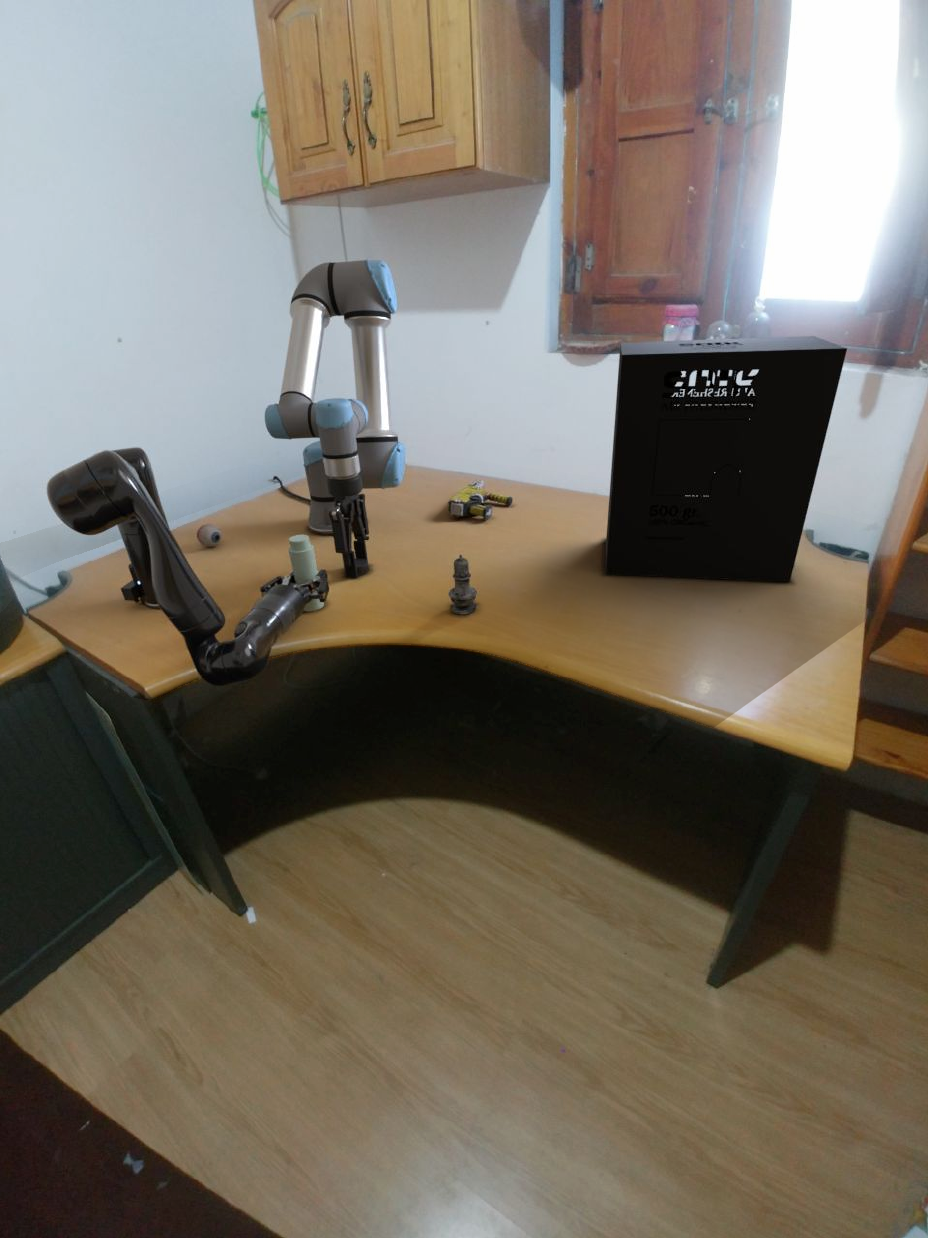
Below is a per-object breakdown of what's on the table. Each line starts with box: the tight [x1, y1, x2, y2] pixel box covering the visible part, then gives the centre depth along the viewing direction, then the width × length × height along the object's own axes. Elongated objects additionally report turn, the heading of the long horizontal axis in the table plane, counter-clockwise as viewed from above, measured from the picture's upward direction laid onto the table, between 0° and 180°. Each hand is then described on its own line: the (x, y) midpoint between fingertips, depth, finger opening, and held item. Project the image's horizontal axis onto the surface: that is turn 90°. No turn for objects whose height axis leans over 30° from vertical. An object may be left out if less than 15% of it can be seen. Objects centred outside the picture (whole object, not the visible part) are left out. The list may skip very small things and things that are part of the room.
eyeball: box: [196, 523, 223, 548], centre depth 159 cm, size 6×6×6 cm
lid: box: [355, 557, 370, 577], centre depth 142 cm, size 5×5×2 cm
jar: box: [287, 534, 325, 612], centre depth 124 cm, size 5×5×16 cm
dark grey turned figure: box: [448, 554, 478, 615], centre depth 121 cm, size 6×6×12 cm
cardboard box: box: [605, 335, 848, 583], centre depth 127 cm, size 38×20×45 cm, turn 78°
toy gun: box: [447, 479, 514, 521], centre depth 175 cm, size 5×24×15 cm
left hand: (311, 573), depth 127 cm, fingers closed on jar, 5 cm apart
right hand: (357, 571), depth 142 cm, fingers open, 5 cm apart
